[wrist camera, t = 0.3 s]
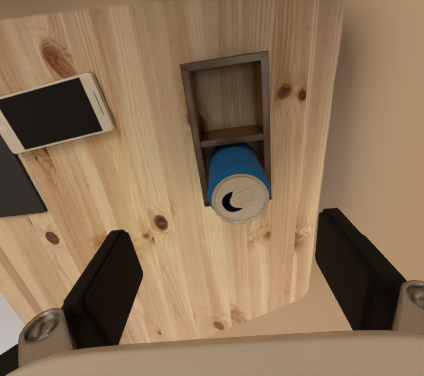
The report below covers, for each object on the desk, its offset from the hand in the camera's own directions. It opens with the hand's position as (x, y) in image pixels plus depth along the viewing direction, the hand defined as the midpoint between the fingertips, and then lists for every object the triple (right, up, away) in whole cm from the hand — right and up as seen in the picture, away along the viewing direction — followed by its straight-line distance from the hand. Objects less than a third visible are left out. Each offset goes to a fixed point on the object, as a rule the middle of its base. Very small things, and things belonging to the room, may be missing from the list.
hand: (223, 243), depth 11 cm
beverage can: (+2, +7, +22) cm, 23 cm away
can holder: (+2, +11, +20) cm, 23 cm away
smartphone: (-22, +13, +19) cm, 32 cm away
